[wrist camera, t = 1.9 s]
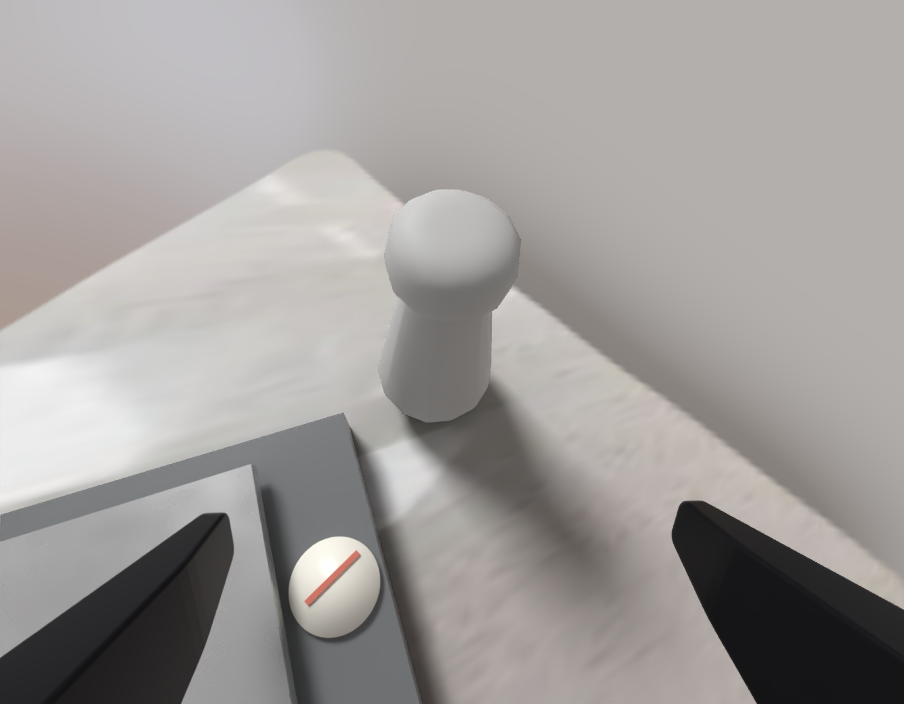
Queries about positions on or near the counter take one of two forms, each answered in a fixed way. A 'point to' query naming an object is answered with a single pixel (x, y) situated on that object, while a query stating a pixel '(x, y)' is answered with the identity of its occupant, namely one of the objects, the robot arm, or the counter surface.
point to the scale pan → (133, 535)
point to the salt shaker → (445, 301)
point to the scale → (296, 556)
